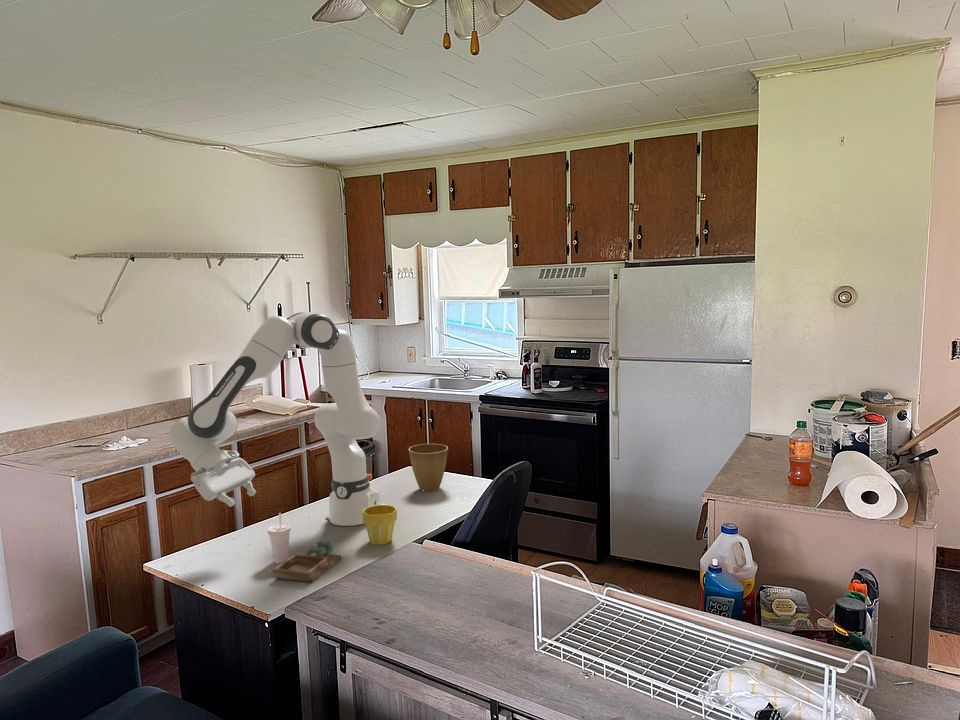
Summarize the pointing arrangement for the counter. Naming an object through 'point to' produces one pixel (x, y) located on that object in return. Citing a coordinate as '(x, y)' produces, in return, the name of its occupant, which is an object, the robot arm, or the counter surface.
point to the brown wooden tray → (307, 563)
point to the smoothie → (279, 541)
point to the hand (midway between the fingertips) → (243, 499)
